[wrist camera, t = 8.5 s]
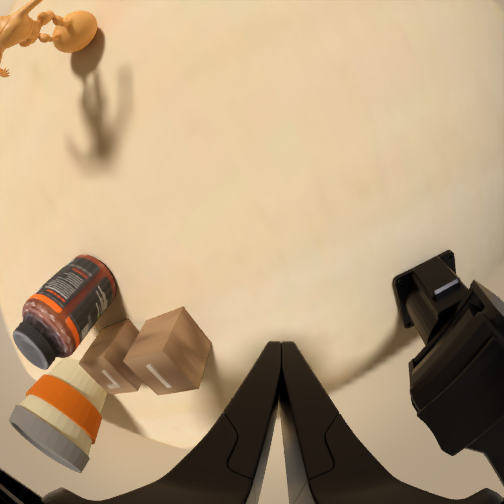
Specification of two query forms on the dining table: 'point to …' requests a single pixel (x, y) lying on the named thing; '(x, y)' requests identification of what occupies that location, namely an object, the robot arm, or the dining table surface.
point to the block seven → (112, 358)
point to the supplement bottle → (64, 311)
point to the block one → (169, 353)
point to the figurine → (64, 36)
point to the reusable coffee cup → (62, 414)
